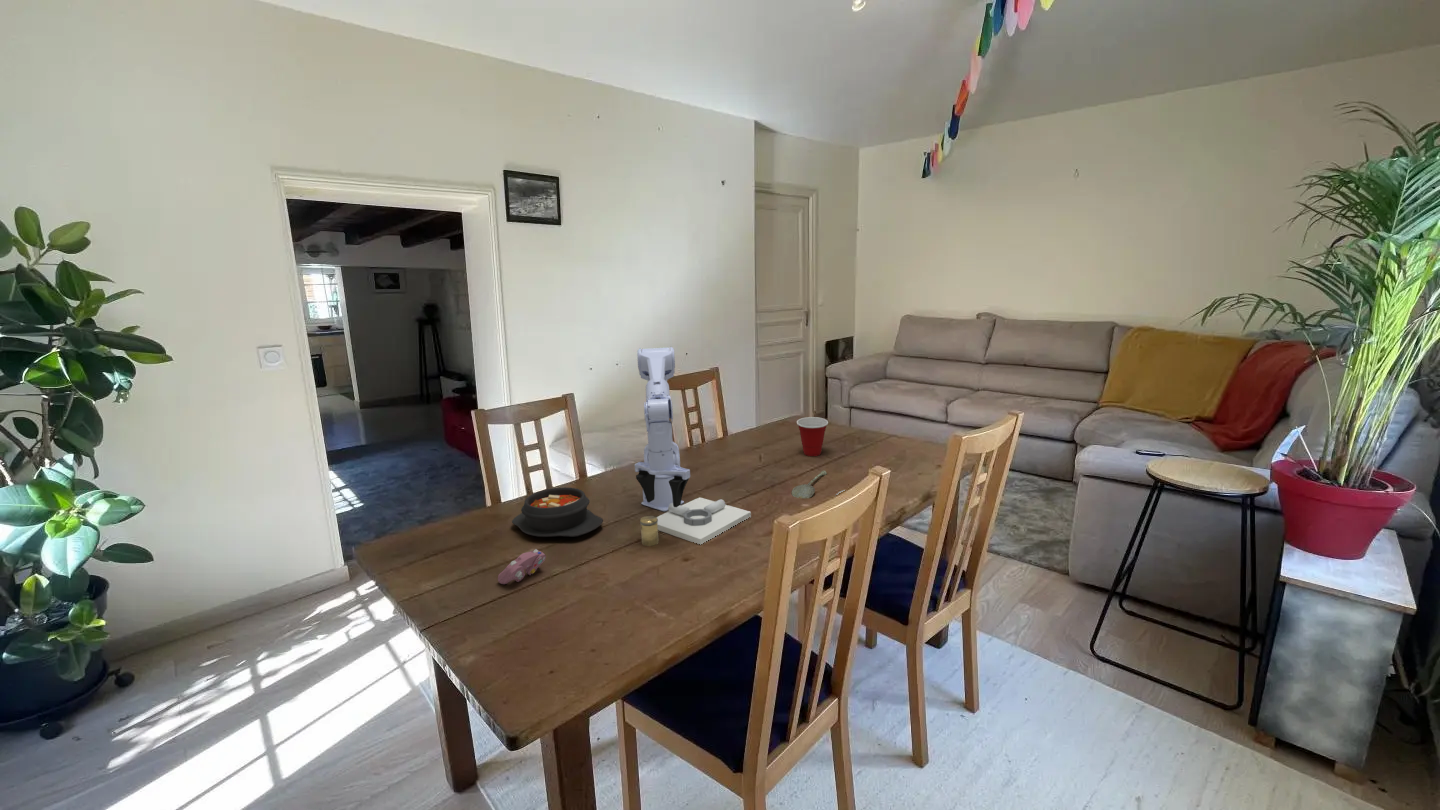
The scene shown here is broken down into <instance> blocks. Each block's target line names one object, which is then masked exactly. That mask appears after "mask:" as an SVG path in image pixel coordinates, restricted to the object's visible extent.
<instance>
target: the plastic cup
mask: <svg viewBox="0 0 1440 810" xmlns="http://www.w3.org/2000/svg"><path fill="white" fill-rule="evenodd" d="M796 424H797V426H798V430H799V434H800V441H801V446H802V451H803V455H805V456H807V457H817V456H820V455H821V454H822V449H823V444H824V439H825V432H826V428H827V426H828V424H829V421H828V419H825V418H822V417H817V416H815V417H814V416H810V417H809V416H807V417H802V418H799V419H797V420H796Z"/></svg>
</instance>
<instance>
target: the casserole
mask: <svg viewBox="0 0 1440 810" xmlns="http://www.w3.org/2000/svg"><path fill="white" fill-rule="evenodd" d="M589 505H590V499H589V497H587V496H586V494H585V492H584V491H583V490H582V489H579V488H575V487H552V488H547V489H543V490H540V491H537V492H535V493H532V494H531V495H529V496H527V497H526V498H525V500H524V503H523V505H522V507H521V509H520V511H521V513H519V514H518V515H516V516H515V517H514V518H513V519H512V520H511V523H512V524H513V525H514V526H516V527H518V528H519V529H520V531H521V532H522V533H524V534H527V535H529V536H534V537H541V538H548V537H553V538H554V537H569V538H570V537H571V538H572V537H573V538H574V537H580V536H583V535H586V534H589V533H591V532H593V531H595V530H596V529H598V528H599V527H600V526H602V524H603V522H604V519H603V517H601V516H598V515H596V514H594V513H593V512H592V511H591V510H589V509H588V506H589Z"/></svg>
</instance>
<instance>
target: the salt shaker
mask: <svg viewBox="0 0 1440 810" xmlns="http://www.w3.org/2000/svg"><path fill="white" fill-rule="evenodd" d="M657 517H658V516H655V515H645V516H643V517H641V518H640V520H639V524H640V533H641V544H642V545H643V546H646V547H651V546H656V545H658V544H659V530H658V524H657V523H658V519H657Z"/></svg>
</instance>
